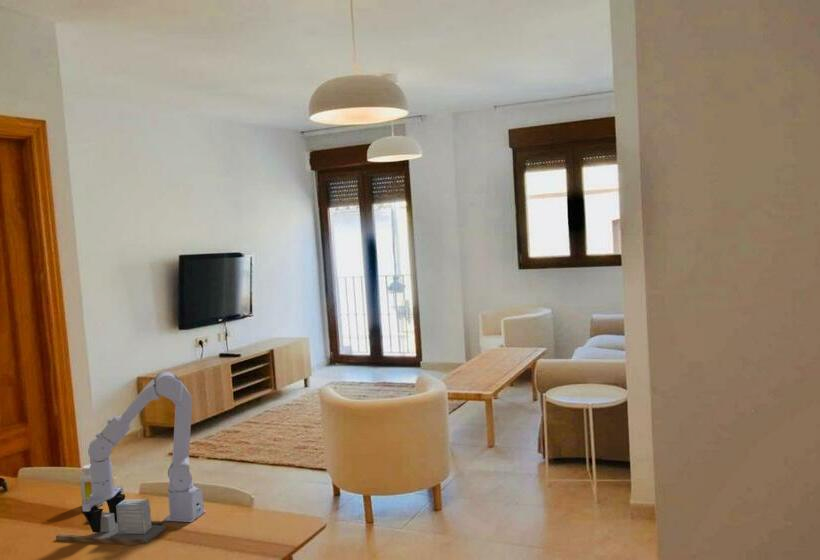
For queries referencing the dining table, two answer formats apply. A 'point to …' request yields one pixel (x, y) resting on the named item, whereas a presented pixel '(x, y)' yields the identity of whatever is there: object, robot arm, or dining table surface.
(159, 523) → the walnut guide rails
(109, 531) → the grey tray plate
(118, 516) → the medicine box
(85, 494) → the supplement bottle
